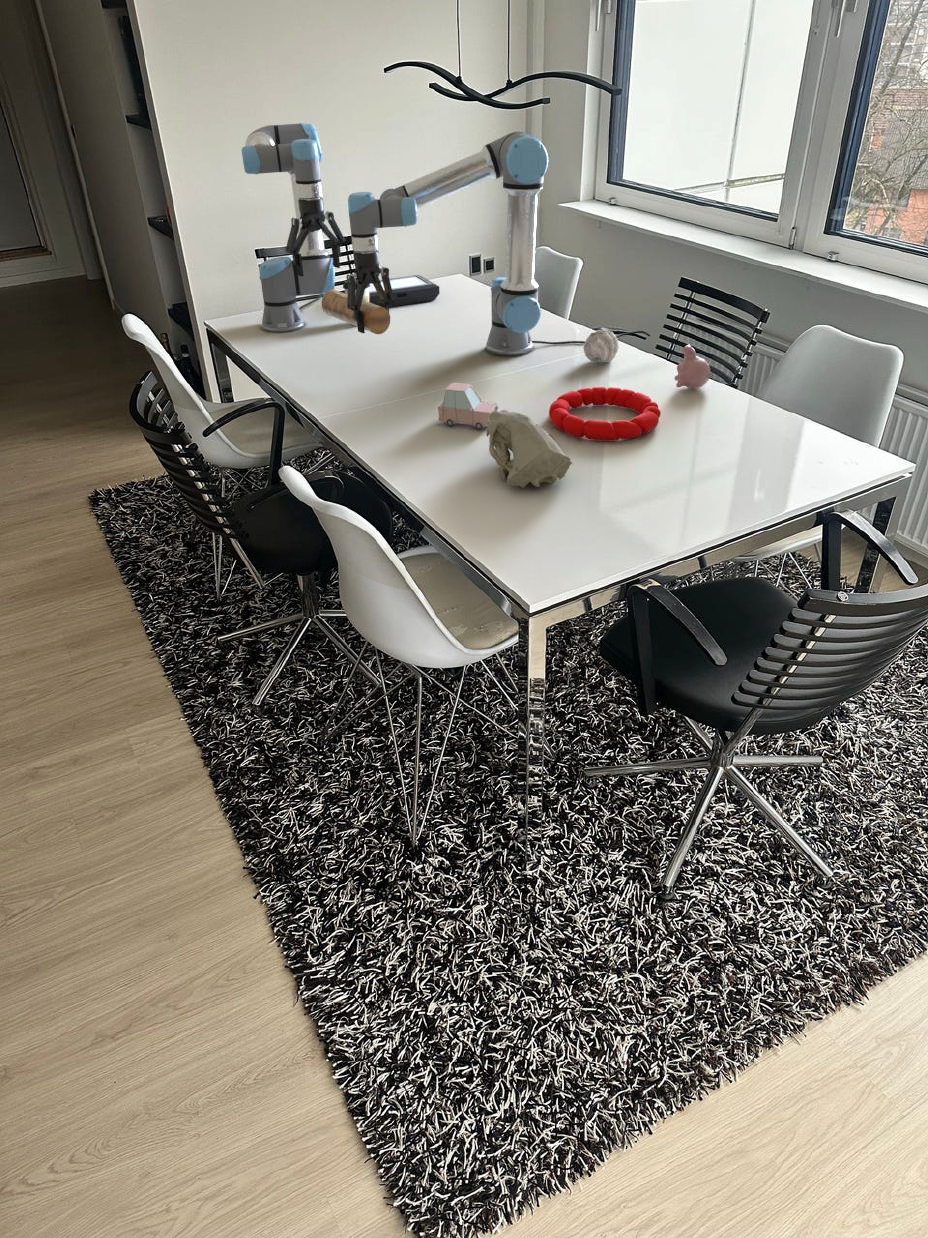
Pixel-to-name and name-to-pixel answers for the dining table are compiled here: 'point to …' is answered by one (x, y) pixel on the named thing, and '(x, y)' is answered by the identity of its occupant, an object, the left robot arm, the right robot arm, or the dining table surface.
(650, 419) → the decorative ring
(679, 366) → the figurine
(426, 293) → the electronic device
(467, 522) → the dining table surface
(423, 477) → the dining table surface
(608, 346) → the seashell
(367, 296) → the coffee cup
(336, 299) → the brown cylinder
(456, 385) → the toy car
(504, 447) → the grey irregular stone chunk
